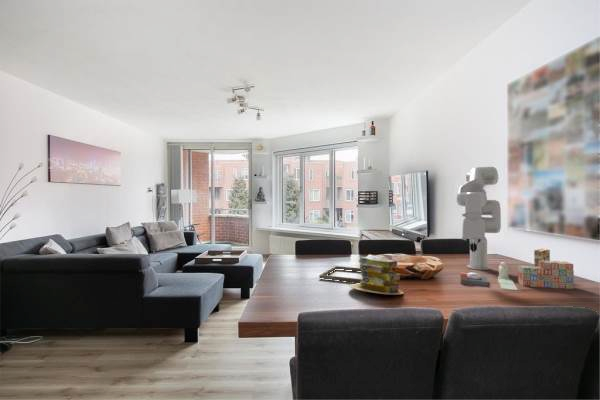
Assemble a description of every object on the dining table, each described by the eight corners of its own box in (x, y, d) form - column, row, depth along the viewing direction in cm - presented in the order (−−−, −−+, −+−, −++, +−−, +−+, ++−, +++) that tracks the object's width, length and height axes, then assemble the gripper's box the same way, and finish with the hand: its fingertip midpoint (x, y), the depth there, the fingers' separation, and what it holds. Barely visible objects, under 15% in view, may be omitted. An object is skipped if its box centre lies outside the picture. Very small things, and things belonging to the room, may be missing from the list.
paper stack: (370, 283, 172) (370, 251, 171) (414, 293, 153) (413, 257, 152) (338, 292, 156) (337, 256, 156) (381, 304, 137) (381, 264, 137)
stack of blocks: (522, 286, 163) (522, 261, 163) (518, 283, 169) (518, 259, 169) (573, 289, 158) (573, 263, 158) (566, 285, 164) (566, 261, 164)
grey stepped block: (460, 278, 179) (460, 268, 179) (486, 280, 174) (485, 270, 174) (460, 283, 168) (460, 272, 168) (487, 286, 163) (487, 275, 163)
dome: (466, 276, 175) (466, 271, 175) (480, 277, 173) (480, 272, 172) (466, 279, 170) (466, 274, 170) (480, 280, 167) (480, 275, 167)
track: (497, 279, 177) (497, 278, 177) (511, 280, 174) (511, 279, 174) (501, 289, 158) (501, 288, 158) (517, 290, 155) (517, 289, 155)
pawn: (497, 276, 182) (497, 260, 182) (508, 277, 180) (508, 261, 180) (498, 278, 178) (498, 262, 178) (509, 279, 176) (509, 263, 175)
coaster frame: (335, 270, 202) (335, 265, 202) (378, 274, 191) (378, 269, 191) (319, 279, 179) (319, 275, 179) (366, 285, 167) (366, 280, 167)
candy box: (542, 279, 175) (542, 251, 175) (533, 278, 179) (533, 249, 179) (550, 277, 180) (550, 249, 180) (541, 275, 184) (541, 248, 184)
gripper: (457, 216, 171) (457, 251, 170) (490, 216, 164) (490, 253, 164) (457, 215, 177) (457, 249, 177) (489, 216, 171) (489, 251, 171)
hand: (473, 251), depth 171 cm, fingers closed
